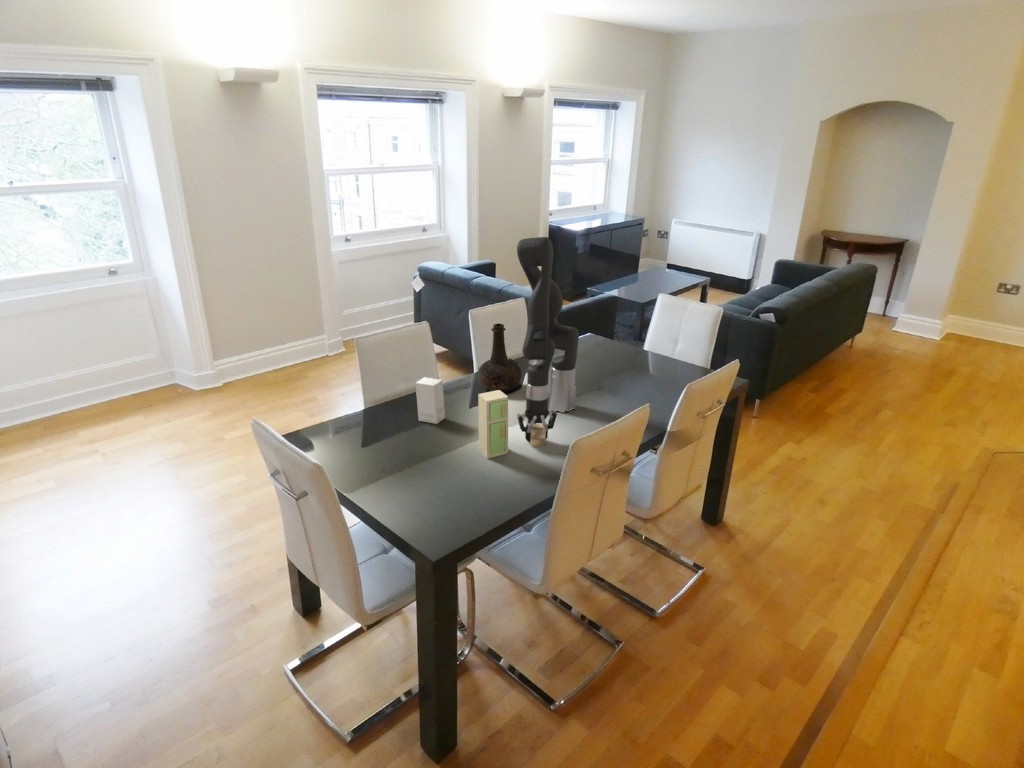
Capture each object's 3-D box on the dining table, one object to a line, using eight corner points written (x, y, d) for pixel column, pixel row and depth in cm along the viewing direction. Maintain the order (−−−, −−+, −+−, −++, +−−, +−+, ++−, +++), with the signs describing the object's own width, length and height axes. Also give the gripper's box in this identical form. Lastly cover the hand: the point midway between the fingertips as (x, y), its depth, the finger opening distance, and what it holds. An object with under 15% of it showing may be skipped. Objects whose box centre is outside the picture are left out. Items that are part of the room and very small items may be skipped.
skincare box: (445, 418, 234) (444, 379, 228) (436, 425, 228) (434, 385, 223) (426, 414, 237) (424, 376, 231) (416, 420, 232) (414, 382, 226)
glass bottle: (529, 391, 260) (530, 326, 249) (493, 400, 250) (493, 333, 240) (505, 378, 273) (505, 316, 263) (470, 386, 264) (469, 322, 253)
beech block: (541, 438, 219) (541, 423, 217) (545, 445, 215) (545, 429, 212) (527, 440, 218) (527, 424, 216) (531, 446, 213) (531, 430, 211)
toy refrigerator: (487, 460, 204) (487, 401, 196) (478, 450, 210) (477, 393, 202) (509, 455, 208) (509, 397, 200) (499, 445, 214) (499, 389, 206)
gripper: (554, 389, 215) (552, 433, 221) (514, 392, 211) (513, 437, 218) (561, 397, 208) (559, 443, 214) (519, 401, 205) (519, 447, 211)
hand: (536, 440), depth 216 cm, fingers closed on beech block, 5 cm apart
